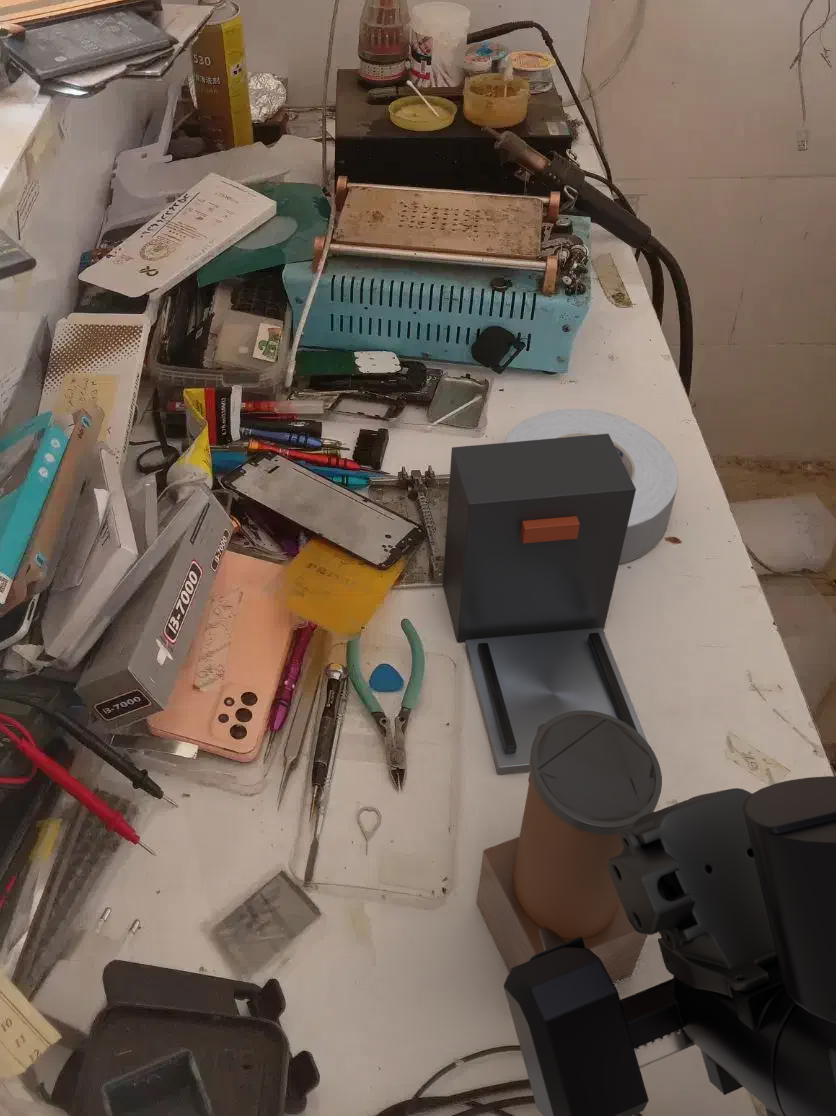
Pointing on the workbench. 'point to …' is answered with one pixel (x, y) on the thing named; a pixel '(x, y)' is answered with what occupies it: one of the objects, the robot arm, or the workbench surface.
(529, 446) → the coffee maker
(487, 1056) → the workbench surface
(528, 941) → the brown cube
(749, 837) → the robot arm
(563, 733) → the carafe
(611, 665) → the drip pan
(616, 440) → the tape roll
